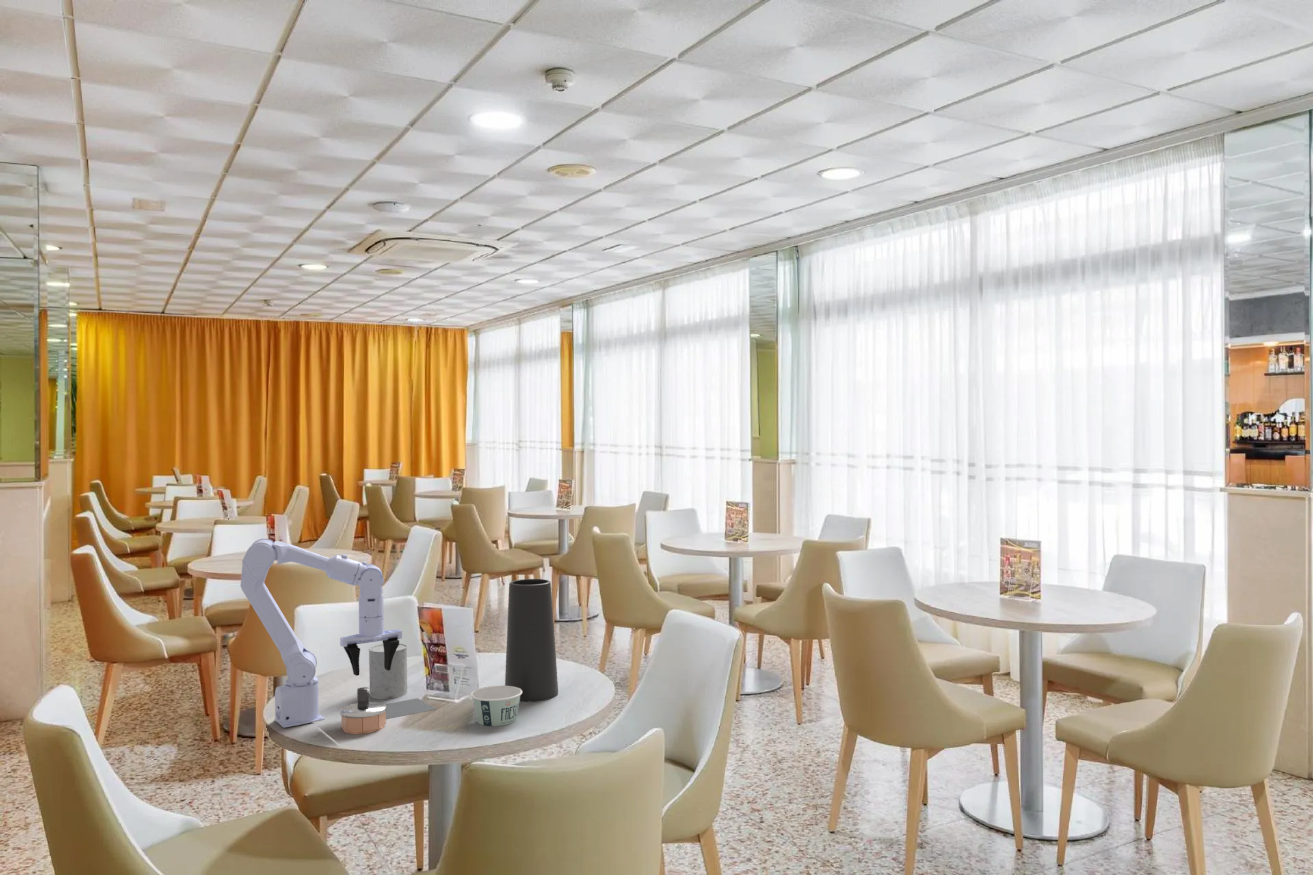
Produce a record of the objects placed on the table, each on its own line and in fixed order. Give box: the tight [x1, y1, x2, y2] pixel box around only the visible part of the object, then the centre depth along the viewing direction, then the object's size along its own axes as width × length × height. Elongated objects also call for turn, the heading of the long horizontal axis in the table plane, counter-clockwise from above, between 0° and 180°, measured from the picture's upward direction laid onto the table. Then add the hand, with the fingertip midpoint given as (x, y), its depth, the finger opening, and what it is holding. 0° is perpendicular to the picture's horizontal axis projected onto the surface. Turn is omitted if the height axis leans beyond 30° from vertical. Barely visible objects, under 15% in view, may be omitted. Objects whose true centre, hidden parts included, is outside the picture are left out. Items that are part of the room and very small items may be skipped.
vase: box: [504, 578, 559, 703], centre depth 241 cm, size 14×14×29 cm
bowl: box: [340, 711, 387, 735], centre depth 214 cm, size 9×9×4 cm
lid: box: [339, 686, 386, 718], centre depth 214 cm, size 10×10×5 cm
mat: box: [384, 697, 437, 720], centre depth 228 cm, size 14×12×1 cm
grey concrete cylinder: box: [368, 643, 408, 700], centre depth 242 cm, size 10×10×12 cm
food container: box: [470, 685, 522, 727], centre depth 220 cm, size 12×12×6 cm
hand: (372, 672), depth 226 cm, fingers open, 7 cm apart
